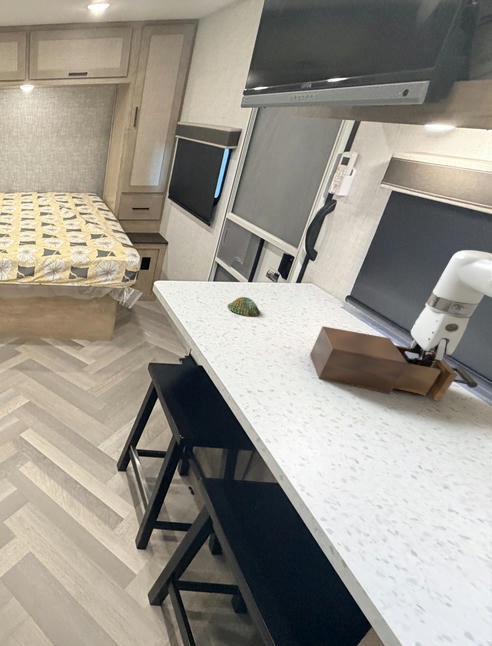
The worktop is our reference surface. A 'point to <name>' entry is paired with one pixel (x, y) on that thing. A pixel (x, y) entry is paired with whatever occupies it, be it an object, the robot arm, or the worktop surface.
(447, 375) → the drawer
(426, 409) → the worktop surface
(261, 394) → the worktop surface
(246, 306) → the seashell
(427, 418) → the worktop surface
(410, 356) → the block
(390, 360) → the cabinet
